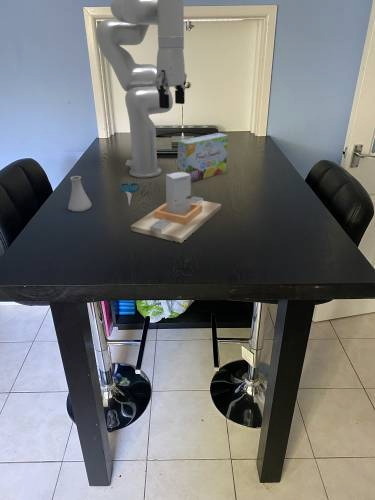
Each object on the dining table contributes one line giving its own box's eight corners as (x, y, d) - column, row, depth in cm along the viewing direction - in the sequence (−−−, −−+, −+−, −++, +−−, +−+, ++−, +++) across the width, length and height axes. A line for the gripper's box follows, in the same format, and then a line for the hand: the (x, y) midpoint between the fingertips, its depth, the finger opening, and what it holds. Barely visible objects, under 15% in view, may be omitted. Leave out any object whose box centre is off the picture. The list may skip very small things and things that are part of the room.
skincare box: (173, 219, 109) (173, 178, 103) (165, 214, 112) (164, 174, 106) (191, 214, 112) (191, 174, 106) (183, 209, 115) (183, 170, 109)
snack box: (187, 184, 139) (186, 143, 132) (177, 180, 143) (176, 140, 135) (226, 172, 151) (228, 134, 144) (216, 169, 155) (218, 131, 148)
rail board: (131, 230, 106) (130, 219, 104) (176, 199, 126) (176, 189, 124) (181, 243, 99) (181, 231, 97) (220, 208, 119) (221, 198, 117)
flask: (96, 205, 122) (92, 175, 117) (83, 213, 116) (78, 182, 111) (77, 202, 124) (72, 172, 119) (63, 210, 118) (58, 179, 113)
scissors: (138, 182, 139) (139, 203, 122) (138, 185, 140) (140, 206, 122) (120, 183, 138) (118, 205, 121) (120, 186, 139) (118, 207, 122)
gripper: (174, 43, 119) (175, 101, 127) (143, 44, 106) (147, 109, 114) (195, 43, 116) (195, 102, 124) (167, 44, 103) (168, 110, 111)
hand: (172, 105), depth 119 cm, fingers open, 9 cm apart
